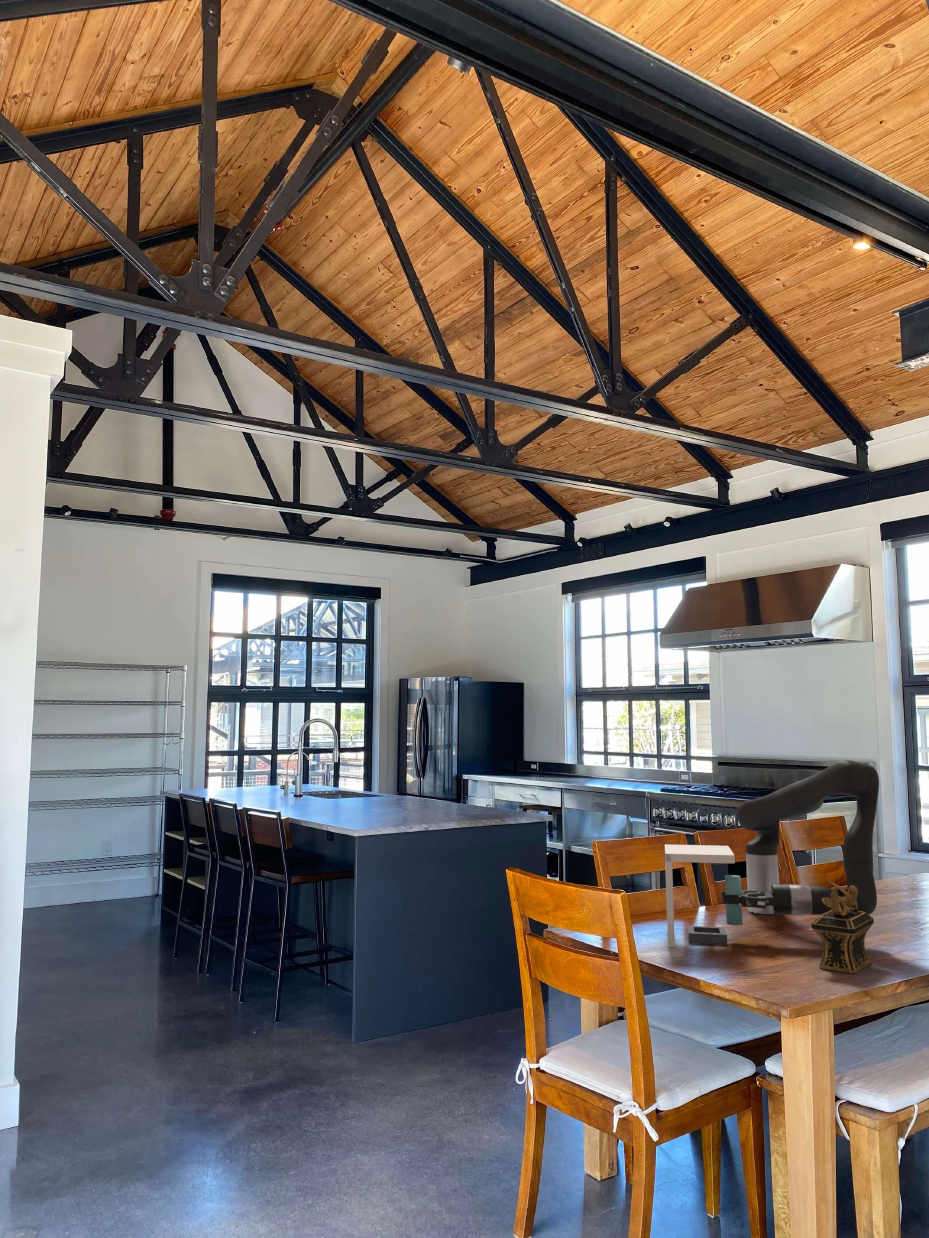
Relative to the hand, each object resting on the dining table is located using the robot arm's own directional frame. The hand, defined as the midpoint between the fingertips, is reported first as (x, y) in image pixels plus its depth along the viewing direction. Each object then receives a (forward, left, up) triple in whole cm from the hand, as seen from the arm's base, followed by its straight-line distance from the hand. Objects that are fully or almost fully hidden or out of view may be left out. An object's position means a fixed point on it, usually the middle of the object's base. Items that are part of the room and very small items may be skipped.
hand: (722, 897), depth 231 cm
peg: (0, +3, -6) cm, 7 cm away
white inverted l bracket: (0, -6, -11) cm, 12 cm away
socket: (0, -4, -11) cm, 12 cm away
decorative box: (+22, +25, -11) cm, 35 cm away
